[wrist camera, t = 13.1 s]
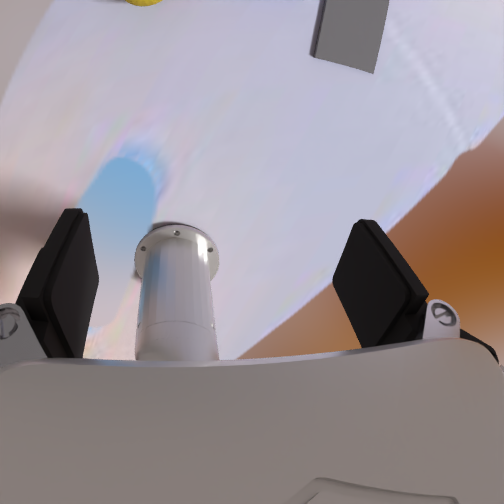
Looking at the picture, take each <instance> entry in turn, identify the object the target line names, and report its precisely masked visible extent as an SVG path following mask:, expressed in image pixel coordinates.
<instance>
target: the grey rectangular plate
mask: <svg viewBox="0 0 504 504" xmlns="http://www.w3.org/2000/svg"><path fill="white" fill-rule="evenodd" d="M388 5H389V0H325V3H324V8H323V13H322V18H321V23H320V28H319V33H318V38H317V43H316V48H315V53H314V58H318V59H322V60H327V61H331V62H334V63H338V64H342V65H346V66H349V67H353V68H356V69H359V70H363V71H366V72H369V73H372V74H373V73H374V69H375V65H376V61H377V57H378V52H379V48H380V43H381V39H382V34H383V30H384V25H385V20H386V15H387V10H388Z"/></svg>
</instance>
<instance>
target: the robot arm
mask: <svg viewBox="0 0 504 504" xmlns="http://www.w3.org/2000/svg"><path fill="white" fill-rule="evenodd" d="M134 261H135V267H136V270H137V273H138V274H139V276H140V277H141V279H142V284H141V292H140V300H139V309H138V319H137V329H136V341H135V359H136V360H103V359H84V358H83V352H84V347H85V341H86V336H87V331H88V327H89V322H90V317H91V313H92V308H93V304H94V299H95V296H96V292H97V288H98V283H99V275H98V270H97V265H96V260H95V255H94V249H93V243H92V238H91V232H90V225H89V219H88V214H87V213H83V211H82V209H81V208H73V209H65V210H64V211H63V213H62V215H61V217H60V218H59V220H58V222H57V224H56V225H55V227H54V229H53V231H52V233H51V235H50V236H49V238H48V240H47V242H46V244H45V246H44V247H43V248H41V250H40V251H39V253H38V255H37V257H36V259H35V261H34V263H33V265H32V267H31V269H30V271H29V274H28V276H27V278H26V280H25V282H24V285H23V287H22V289H21V291H20V294H19V296H18V298H17V301H16V303H15V304H12V303H6V304H2V305H0V504H504V367H503V366H502V365H500V366H499V361H498V357H497V355H496V352H495V350H494V349H493V348H492V347H491V346H489V345H487V344H486V343H484V342H482V341H481V340H479V339H477V338H476V337H474V336H472V335H470V334H469V333H467V332H465V331H464V330H462V329H460V320H459V317H458V314H457V313H456V311H455V310H454V309H453V308H452V307H451V306H450V305H449V304H447V303H446V302H444V301H441V300H436V299H435V300H432V301H430V302H429V303H428V304H427V303H426V301H425V300H426V298H427V297H428V295H429V293H428V292H427V290H426V289H425V287H424V286H423V284H422V283H421V282H420V280H419V279H418V277H417V276H416V274H415V273H414V272H413V270H412V269H411V267H410V266H409V265H408V263H407V262H406V260H405V259H404V258H403V257H402V255H401V254H400V253H399V251H398V250H397V248H396V247H395V246H394V244H393V243H392V242H391V240H390V239H389V238H388V237H387V235H386V234H385V233H384V231H383V230H382V229H381V228H380V226H379V225H378V224H377V222H376V221H374V220H366V219H360V220H359V221H358V222H357V223H355V224H354V225H353V227H352V230H351V233H350V235H349V238H348V240H347V243H346V245H345V248H344V251H343V253H342V256H341V258H340V261H339V263H338V266H337V268H336V270H335V273H334V275H333V286H334V288H335V290H336V292H337V294H338V297H339V299H340V301H341V303H342V305H343V307H344V309H345V311H346V314H347V316H348V318H349V320H350V322H351V325H352V327H353V329H354V331H355V333H356V336H357V338H358V340H359V342H360V344H361V347H362V348H361V349H354V350H346V351H337V352H329V353H319V354H310V355H299V356H287V357H275V358H260V359H243V360H242V359H241V360H219V353H218V345H217V337H216V328H215V319H214V310H213V301H212V291H211V280H212V279H213V278H214V277H215V275H216V273H217V271H218V267H219V254H218V250H217V248H216V245H215V244H214V242H213V241H212V240H211V239H210V238H209V237H208V236H207V235H206V234H205V233H203V232H201V231H200V230H198V229H195V228H193V227H189V226H185V225H167V226H163V227H159V228H157V229H155V230H153V231H151V232H149V233H148V234H147V235H145V236H144V237H143V239H142V240H141V241H140V243H139V244H138V246H137V249H136V252H135V259H134Z"/></svg>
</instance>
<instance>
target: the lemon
mask: <svg viewBox="0 0 504 504" xmlns="http://www.w3.org/2000/svg"><path fill="white" fill-rule="evenodd" d="M125 1H127V2H128V3H130V4H133V5H136V6H150V5H153V4H156V3H158V2H160V1H162V0H125Z"/></svg>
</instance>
